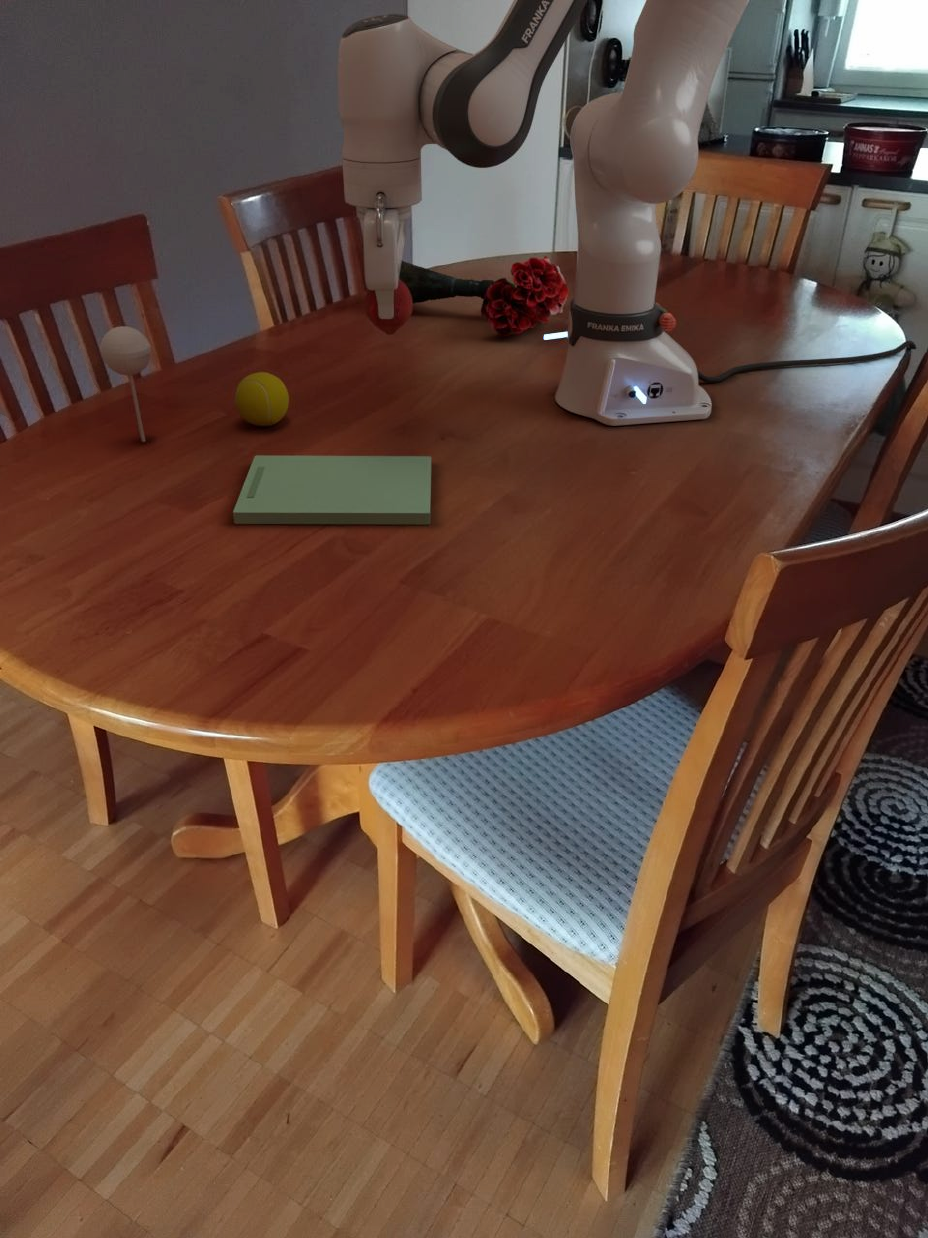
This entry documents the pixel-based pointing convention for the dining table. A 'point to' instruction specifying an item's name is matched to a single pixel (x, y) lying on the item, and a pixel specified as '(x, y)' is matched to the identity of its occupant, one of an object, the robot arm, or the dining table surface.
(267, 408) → the tennis ball
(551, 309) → the carnation
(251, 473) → the cutting board
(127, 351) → the lollipop
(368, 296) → the onion
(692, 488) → the dining table surface
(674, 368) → the robot arm
